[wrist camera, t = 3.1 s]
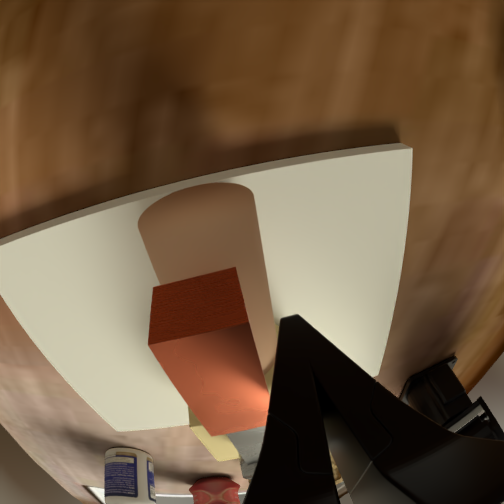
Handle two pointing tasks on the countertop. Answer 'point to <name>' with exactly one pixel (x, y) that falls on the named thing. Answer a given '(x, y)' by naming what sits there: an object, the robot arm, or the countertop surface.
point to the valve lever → (213, 357)
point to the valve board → (301, 258)
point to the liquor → (215, 491)
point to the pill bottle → (129, 477)
